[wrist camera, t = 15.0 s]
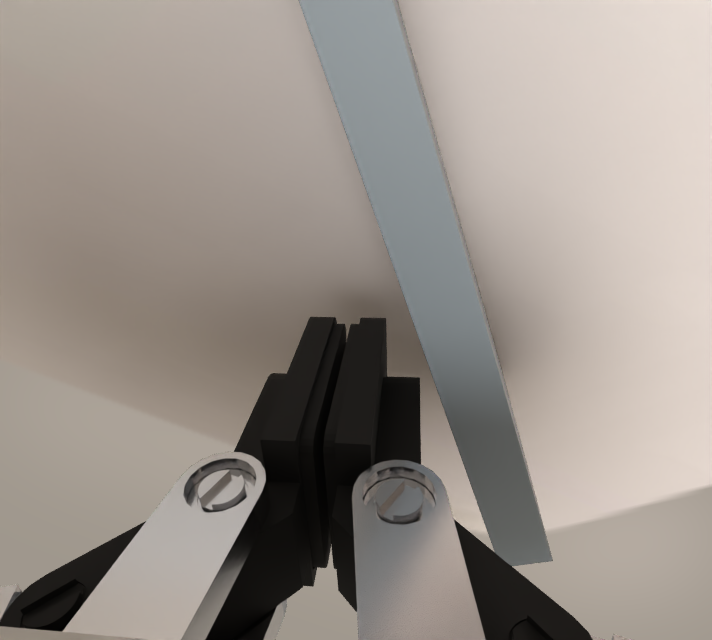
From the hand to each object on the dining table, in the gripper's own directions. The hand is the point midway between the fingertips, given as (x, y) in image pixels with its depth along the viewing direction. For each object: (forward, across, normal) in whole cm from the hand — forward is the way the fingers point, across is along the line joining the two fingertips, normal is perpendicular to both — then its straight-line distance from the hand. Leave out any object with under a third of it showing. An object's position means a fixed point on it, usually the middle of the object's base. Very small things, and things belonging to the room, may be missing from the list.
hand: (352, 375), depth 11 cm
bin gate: (+4, -1, -4) cm, 6 cm away
